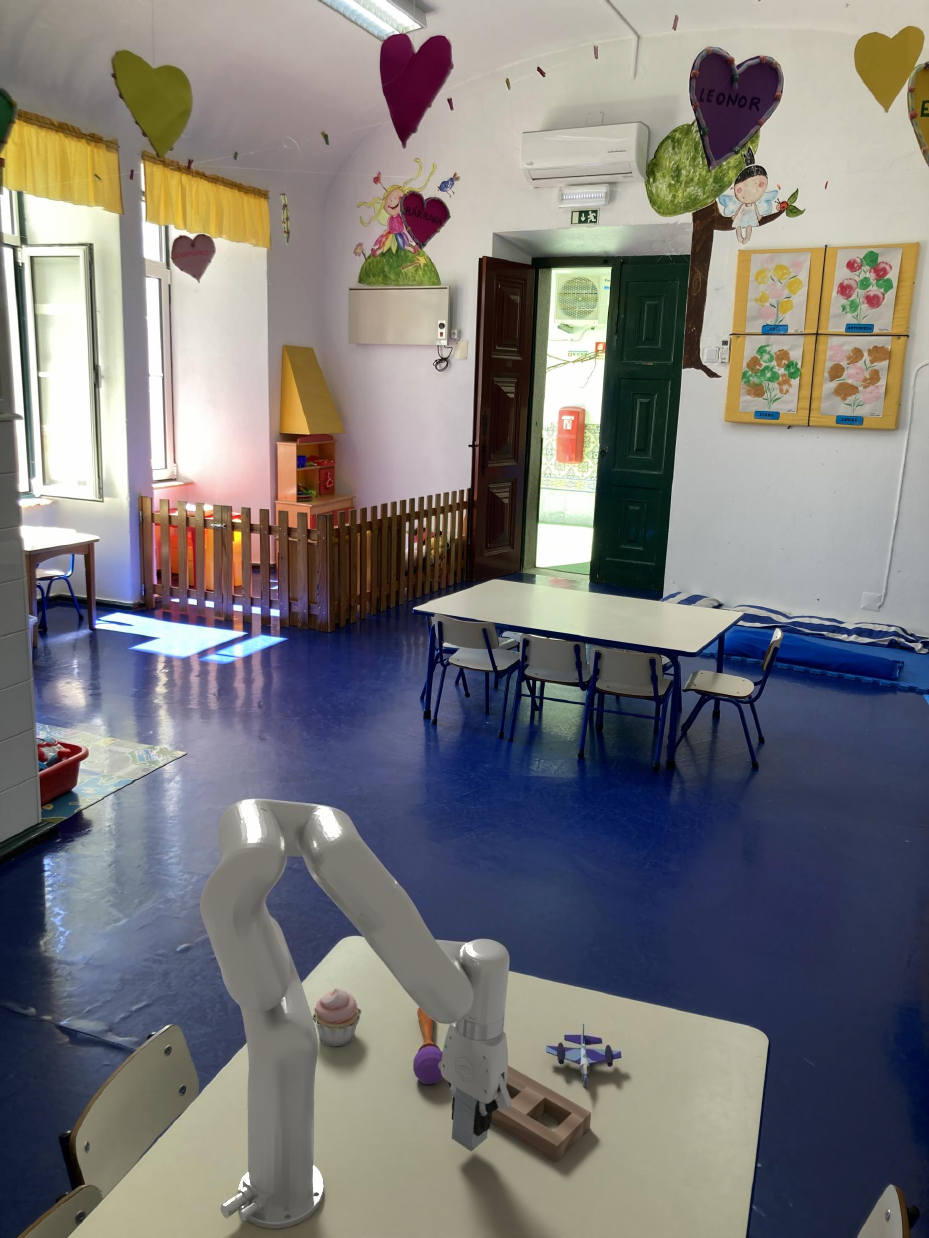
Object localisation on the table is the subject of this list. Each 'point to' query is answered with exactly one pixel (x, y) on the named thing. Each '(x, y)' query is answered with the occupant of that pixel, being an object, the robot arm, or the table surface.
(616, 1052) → the toy airplane
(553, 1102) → the socket block
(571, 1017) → the table surface
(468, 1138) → the square peg
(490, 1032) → the robot arm
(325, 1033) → the cupcake
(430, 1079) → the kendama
